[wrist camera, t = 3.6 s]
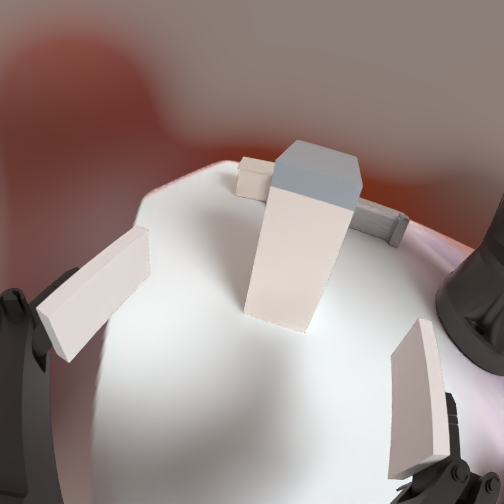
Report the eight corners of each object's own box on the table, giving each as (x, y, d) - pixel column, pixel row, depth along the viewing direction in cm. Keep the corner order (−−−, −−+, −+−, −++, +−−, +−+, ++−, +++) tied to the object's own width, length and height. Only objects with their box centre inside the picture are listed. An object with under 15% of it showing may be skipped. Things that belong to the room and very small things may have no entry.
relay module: (317, 275, 28) (356, 157, 21) (304, 333, 21) (362, 186, 15) (268, 259, 29) (297, 139, 22) (243, 313, 22) (275, 159, 16)
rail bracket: (392, 231, 40) (403, 205, 38) (397, 247, 36) (409, 219, 34) (274, 193, 43) (280, 166, 41) (265, 205, 39) (272, 175, 37)
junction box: (280, 193, 44) (286, 165, 41) (279, 205, 40) (286, 174, 38) (238, 185, 44) (243, 156, 41) (233, 195, 40) (238, 164, 38)
